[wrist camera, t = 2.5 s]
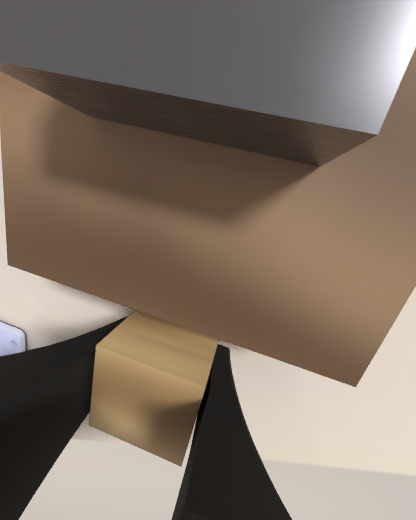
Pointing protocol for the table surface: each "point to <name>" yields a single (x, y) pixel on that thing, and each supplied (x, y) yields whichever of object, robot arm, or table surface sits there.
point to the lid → (219, 164)
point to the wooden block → (151, 383)
